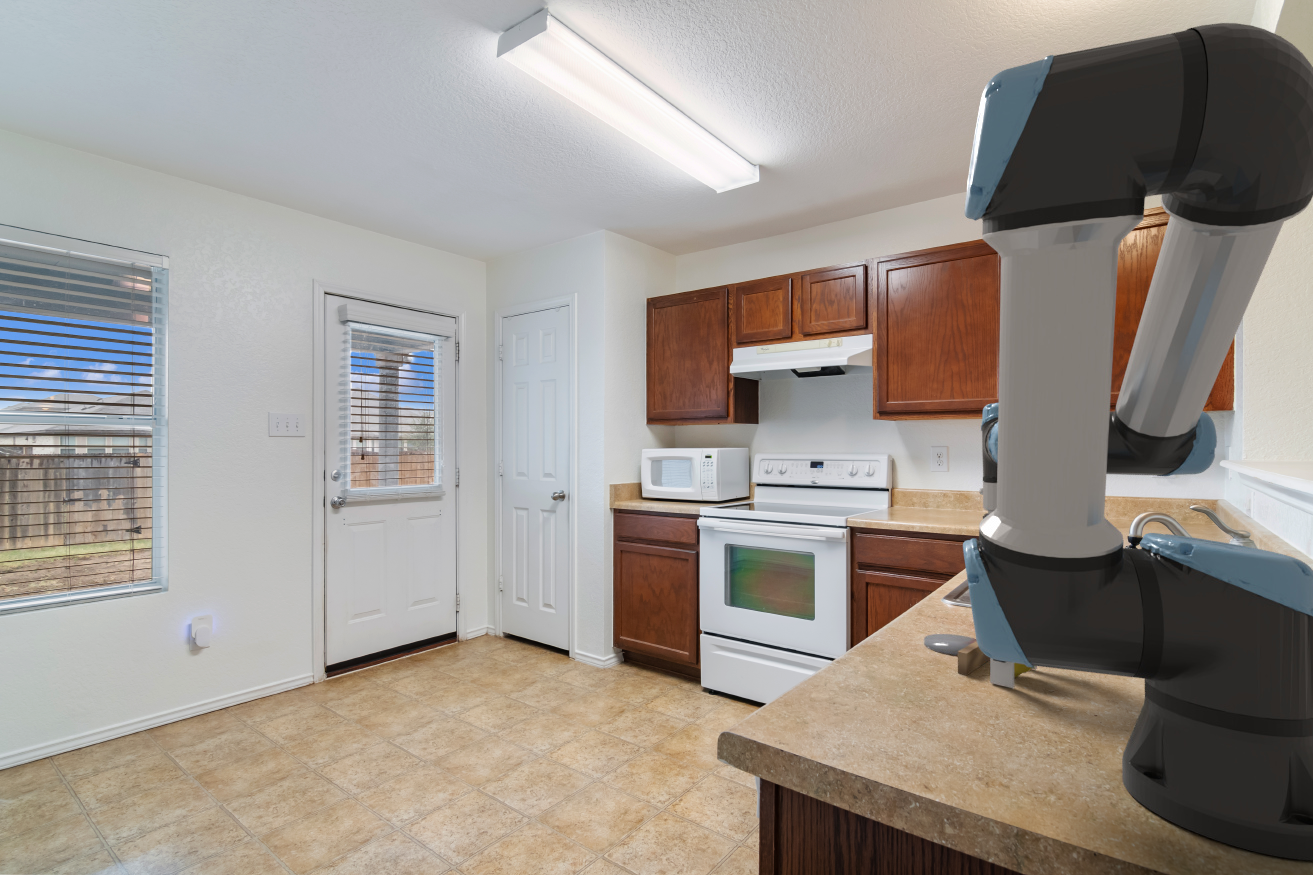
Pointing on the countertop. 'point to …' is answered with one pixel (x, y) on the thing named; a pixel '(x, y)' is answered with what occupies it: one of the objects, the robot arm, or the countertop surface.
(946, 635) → the coaster
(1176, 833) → the countertop surface
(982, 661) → the divider
